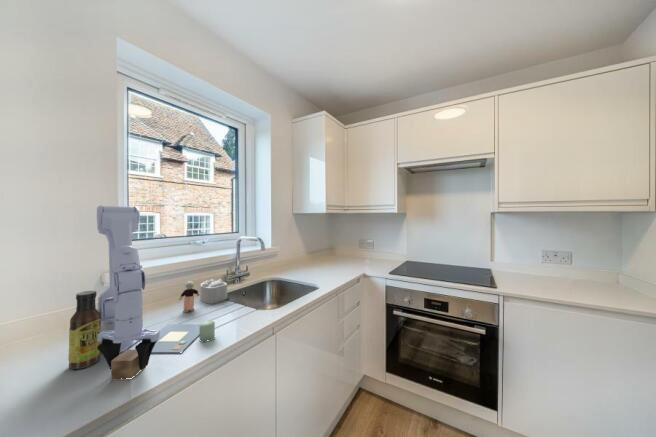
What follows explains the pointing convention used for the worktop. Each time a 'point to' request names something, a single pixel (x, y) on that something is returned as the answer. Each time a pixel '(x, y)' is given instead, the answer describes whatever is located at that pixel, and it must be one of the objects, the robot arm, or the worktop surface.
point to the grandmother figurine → (189, 296)
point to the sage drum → (206, 330)
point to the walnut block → (125, 365)
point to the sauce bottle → (84, 332)
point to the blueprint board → (175, 338)
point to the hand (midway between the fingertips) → (129, 367)
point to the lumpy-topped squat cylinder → (213, 291)
